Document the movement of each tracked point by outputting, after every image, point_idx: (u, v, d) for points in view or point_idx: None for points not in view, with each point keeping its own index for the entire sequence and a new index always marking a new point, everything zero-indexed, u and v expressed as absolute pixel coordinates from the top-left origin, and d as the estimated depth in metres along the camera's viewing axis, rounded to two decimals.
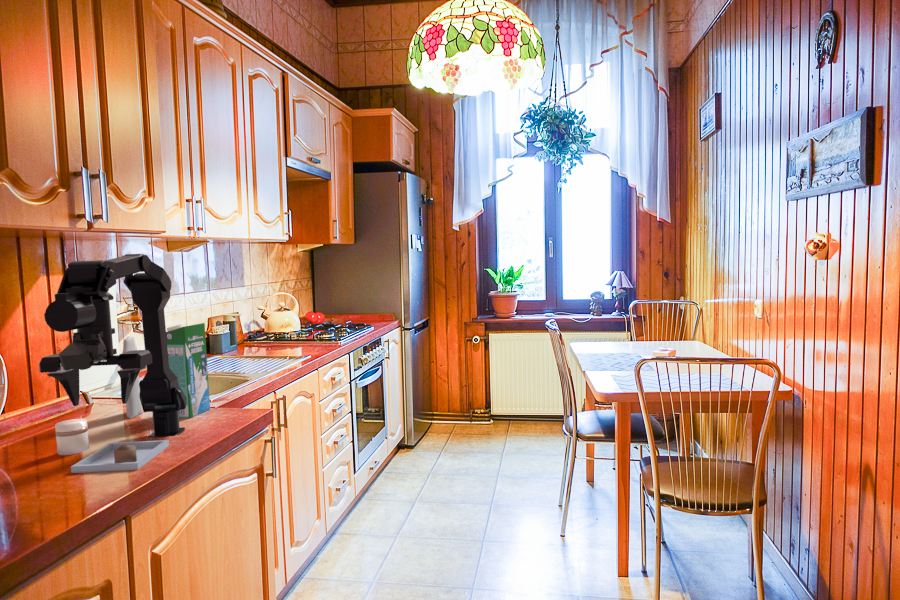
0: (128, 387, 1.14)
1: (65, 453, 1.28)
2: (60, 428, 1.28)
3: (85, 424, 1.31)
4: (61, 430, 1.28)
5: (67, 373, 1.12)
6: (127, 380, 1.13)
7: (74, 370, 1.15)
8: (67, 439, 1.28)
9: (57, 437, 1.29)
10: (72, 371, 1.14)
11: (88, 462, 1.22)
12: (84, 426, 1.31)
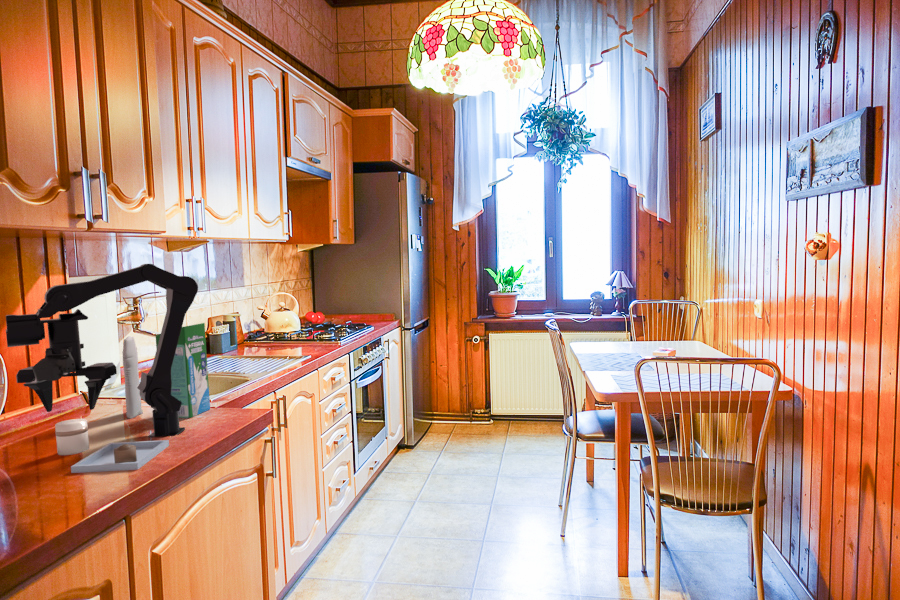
0: (94, 395, 1.30)
1: (65, 453, 1.28)
2: (60, 428, 1.28)
3: (85, 424, 1.31)
4: (61, 430, 1.28)
5: (41, 383, 1.29)
6: (93, 389, 1.29)
7: (48, 380, 1.31)
8: (67, 439, 1.28)
9: (57, 437, 1.29)
10: (46, 381, 1.31)
11: (88, 462, 1.22)
12: (84, 426, 1.31)
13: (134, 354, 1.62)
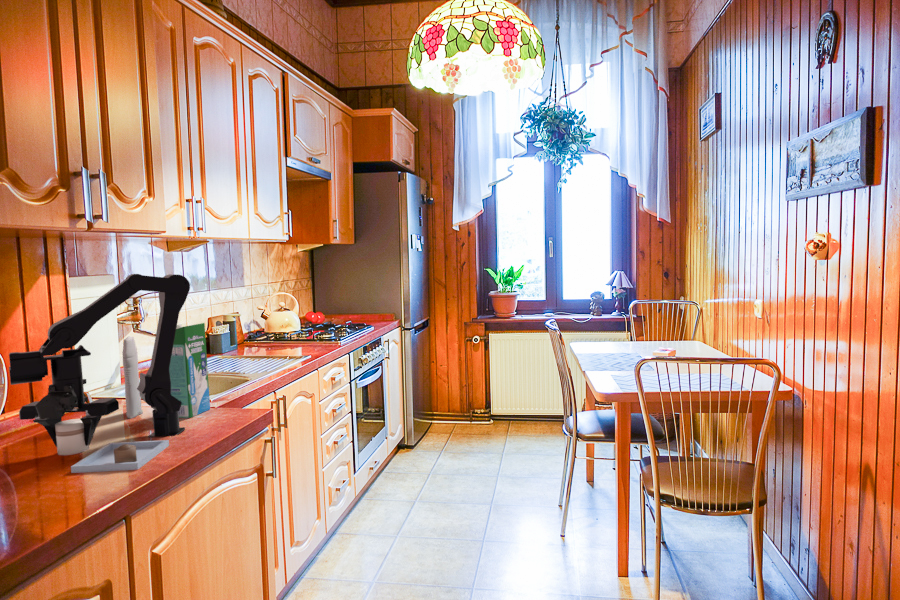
0: (90, 431, 1.31)
1: (65, 453, 1.28)
2: (60, 428, 1.28)
3: None
4: (61, 430, 1.28)
5: (50, 419, 1.30)
6: (89, 425, 1.30)
7: None
8: (67, 439, 1.28)
9: (57, 437, 1.29)
10: None
11: (88, 462, 1.22)
12: None
13: (134, 354, 1.62)
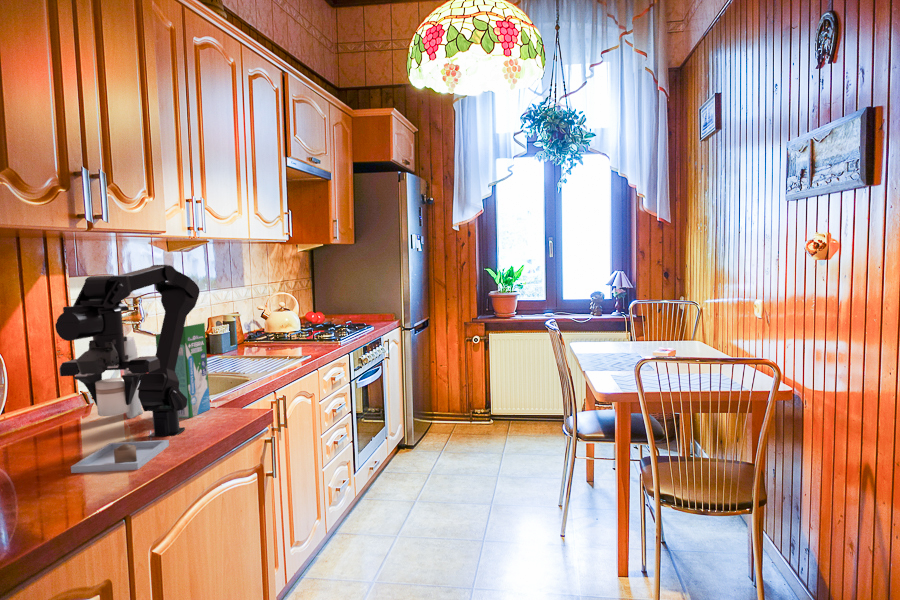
0: (131, 390, 1.26)
1: (105, 411, 1.24)
2: (101, 385, 1.23)
3: None
4: (101, 388, 1.23)
5: (91, 376, 1.25)
6: (130, 384, 1.25)
7: (97, 374, 1.27)
8: (107, 397, 1.24)
9: (97, 395, 1.24)
10: (95, 375, 1.27)
11: (88, 462, 1.22)
12: None
13: (134, 354, 1.62)
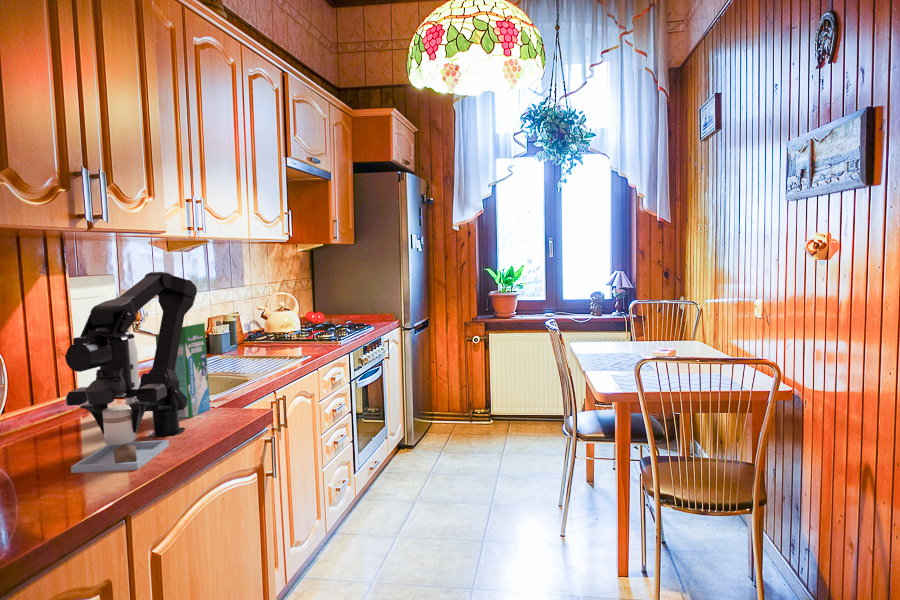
0: (138, 418, 1.27)
1: (113, 440, 1.24)
2: (108, 414, 1.24)
3: None
4: (109, 416, 1.24)
5: (98, 405, 1.25)
6: (138, 412, 1.26)
7: None
8: (115, 426, 1.24)
9: (105, 424, 1.24)
10: None
11: (88, 462, 1.22)
12: None
13: (134, 354, 1.62)
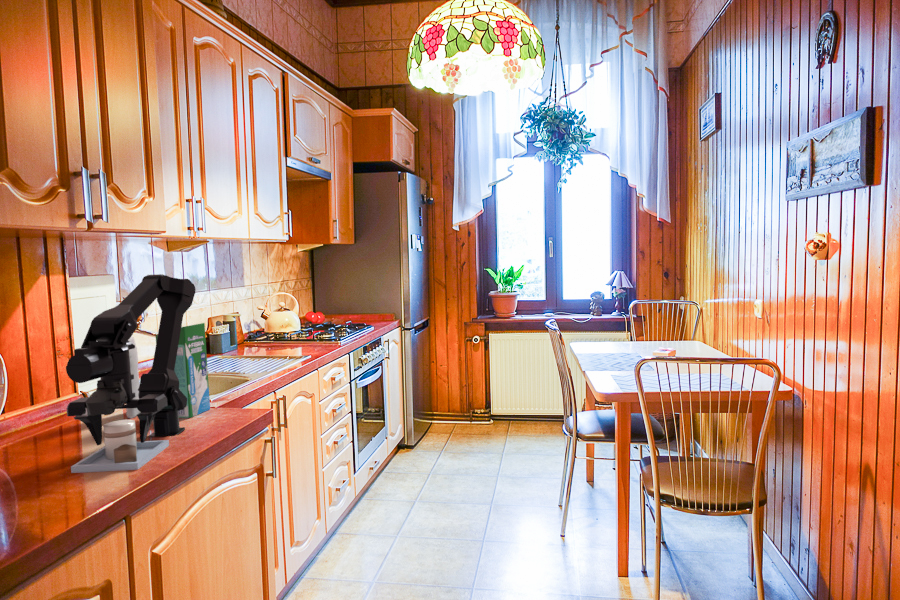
0: (145, 428, 1.27)
1: None
2: (109, 429, 1.24)
3: (133, 425, 1.27)
4: (110, 431, 1.24)
5: (91, 416, 1.25)
6: (145, 422, 1.26)
7: None
8: (116, 441, 1.24)
9: (106, 439, 1.24)
10: None
11: (88, 462, 1.22)
12: (133, 427, 1.27)
13: (134, 354, 1.62)
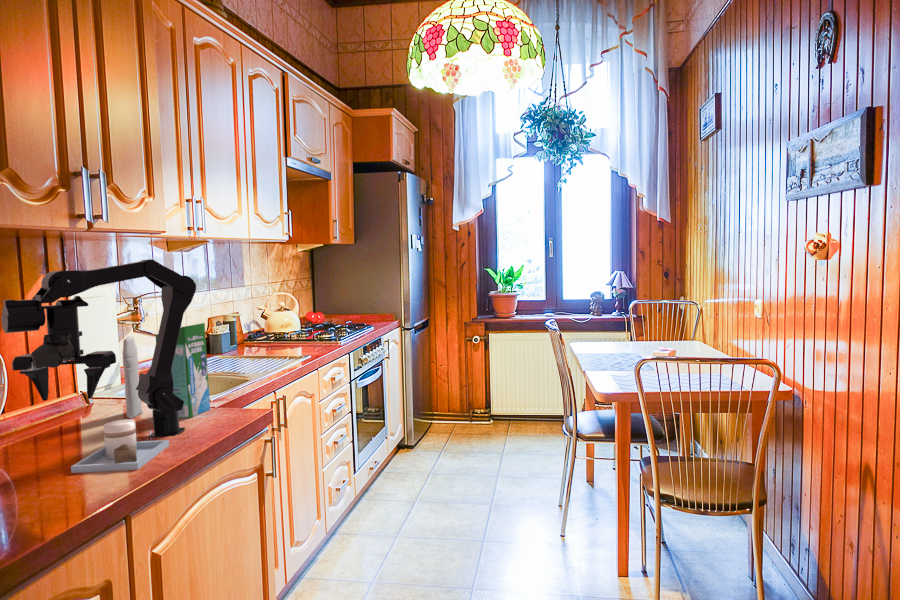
0: (93, 383, 1.27)
1: None
2: (109, 429, 1.24)
3: (134, 425, 1.27)
4: (110, 431, 1.24)
5: (37, 371, 1.26)
6: (93, 377, 1.26)
7: (44, 368, 1.28)
8: (116, 441, 1.24)
9: (106, 438, 1.24)
10: (42, 369, 1.27)
11: (88, 462, 1.22)
12: (133, 427, 1.27)
13: (134, 354, 1.62)
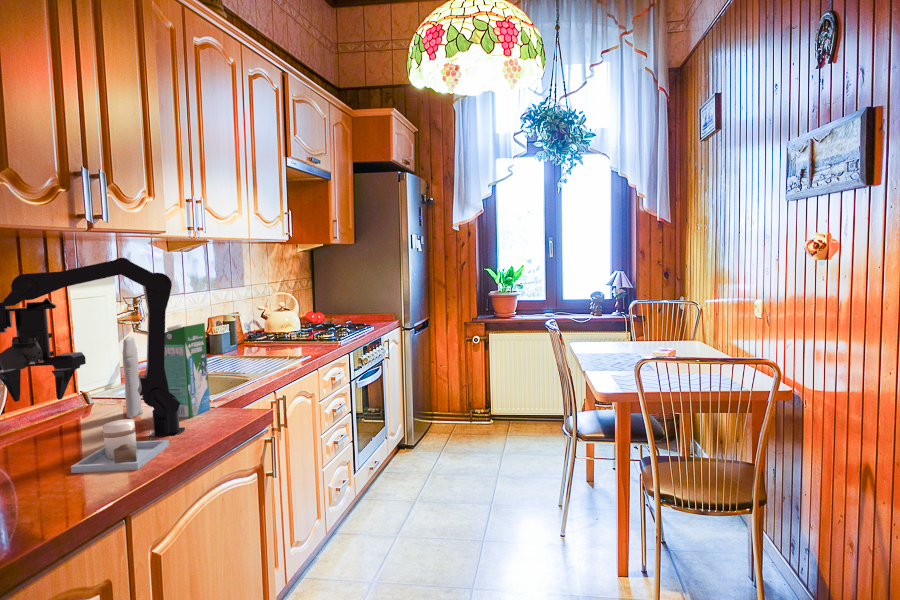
0: (62, 385, 1.29)
1: (113, 455, 1.24)
2: (108, 429, 1.24)
3: (133, 425, 1.27)
4: (109, 431, 1.24)
5: (8, 372, 1.27)
6: (61, 379, 1.28)
7: (15, 370, 1.30)
8: (115, 440, 1.24)
9: (105, 438, 1.24)
10: (13, 371, 1.29)
11: (88, 462, 1.22)
12: (132, 427, 1.27)
13: (134, 354, 1.62)
